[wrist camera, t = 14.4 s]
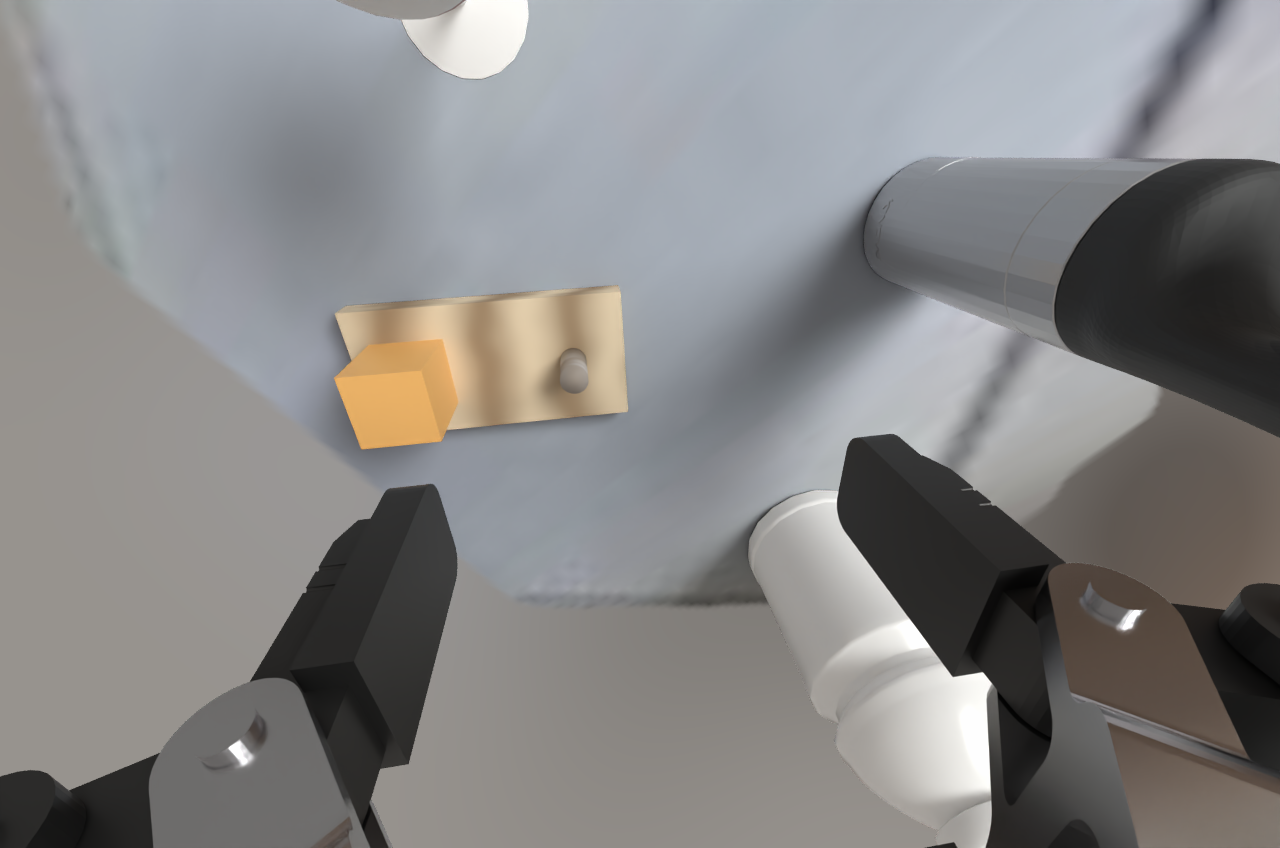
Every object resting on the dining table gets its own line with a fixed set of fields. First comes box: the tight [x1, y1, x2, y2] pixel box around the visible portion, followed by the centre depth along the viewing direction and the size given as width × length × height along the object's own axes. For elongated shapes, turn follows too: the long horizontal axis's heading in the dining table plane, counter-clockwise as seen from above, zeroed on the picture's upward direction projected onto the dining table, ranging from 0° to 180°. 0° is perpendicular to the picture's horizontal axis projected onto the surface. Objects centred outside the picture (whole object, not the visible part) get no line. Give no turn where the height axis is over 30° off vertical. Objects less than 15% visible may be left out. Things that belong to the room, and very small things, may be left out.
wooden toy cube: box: [334, 339, 458, 449], centre depth 34 cm, size 5×5×6 cm
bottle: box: [748, 490, 992, 848], centre depth 41 cm, size 14×14×28 cm
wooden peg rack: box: [335, 285, 628, 430], centre depth 36 cm, size 20×10×6 cm, turn 92°
